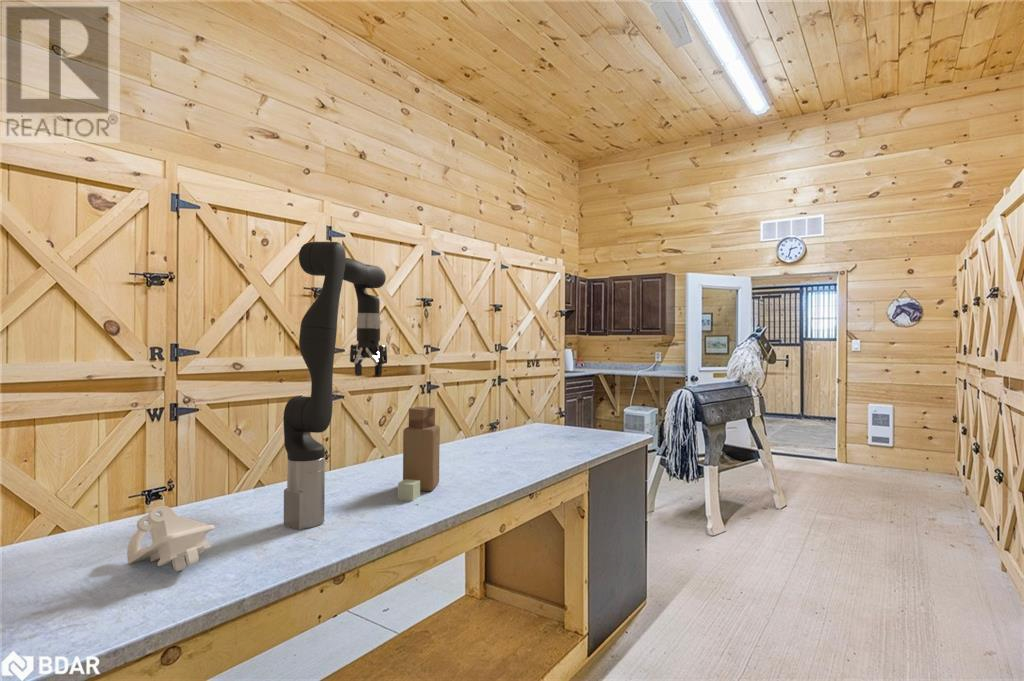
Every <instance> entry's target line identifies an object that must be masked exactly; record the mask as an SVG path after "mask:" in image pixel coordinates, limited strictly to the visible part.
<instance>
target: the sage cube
mask: <svg viewBox="0 0 1024 681" xmlns="http://www.w3.org/2000/svg"><path fill="white" fill-rule="evenodd" d="M420 497H421V491H420V480H409V479H405V480H403V479H402V480H401V481H400V482H398V483H397V500H398V501H408V502H413V501H415V500H417V499H418V498H420Z"/></svg>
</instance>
